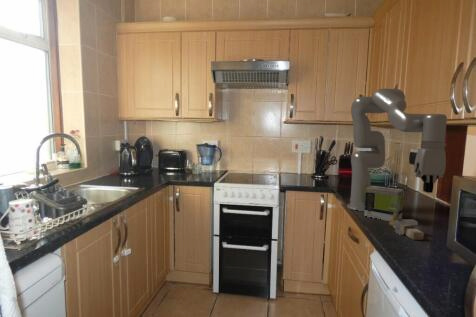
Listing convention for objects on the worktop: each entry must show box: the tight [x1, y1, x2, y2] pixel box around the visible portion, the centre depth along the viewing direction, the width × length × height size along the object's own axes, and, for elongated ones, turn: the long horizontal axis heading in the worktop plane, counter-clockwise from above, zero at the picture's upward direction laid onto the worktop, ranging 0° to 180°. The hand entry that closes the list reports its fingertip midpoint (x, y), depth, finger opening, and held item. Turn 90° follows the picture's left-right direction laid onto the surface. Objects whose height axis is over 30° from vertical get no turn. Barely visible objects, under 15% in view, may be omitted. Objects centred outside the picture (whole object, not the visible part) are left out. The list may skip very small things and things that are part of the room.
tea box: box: [363, 185, 405, 222], centre depth 142 cm, size 15×10×15 cm
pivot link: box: [388, 213, 425, 241], centre depth 124 cm, size 18×5×6 cm, turn 2°
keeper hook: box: [394, 218, 419, 236], centre depth 121 cm, size 3×8×6 cm, turn 93°
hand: (427, 191), depth 115 cm, fingers closed
